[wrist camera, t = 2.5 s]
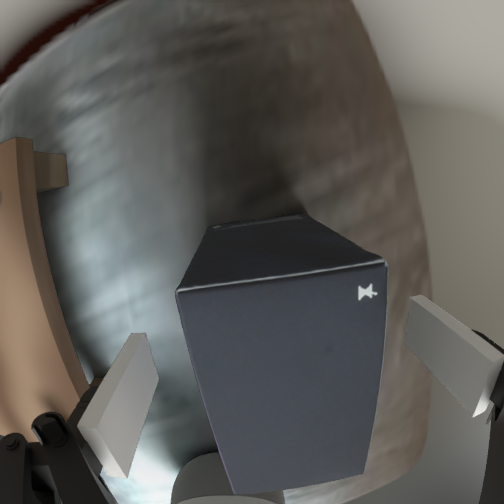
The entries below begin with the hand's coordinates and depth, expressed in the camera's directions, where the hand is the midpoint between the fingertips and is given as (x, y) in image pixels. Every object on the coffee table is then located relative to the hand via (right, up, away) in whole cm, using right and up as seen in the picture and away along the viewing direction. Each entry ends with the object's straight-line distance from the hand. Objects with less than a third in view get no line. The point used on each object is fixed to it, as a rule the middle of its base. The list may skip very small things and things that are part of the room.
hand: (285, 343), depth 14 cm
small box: (-1, +1, +5) cm, 6 cm away
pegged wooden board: (-19, +1, +4) cm, 19 cm away
